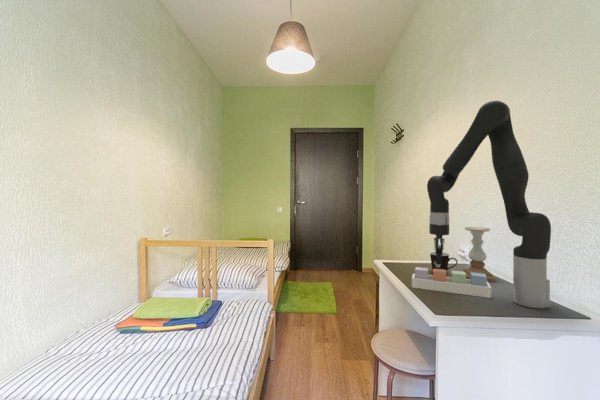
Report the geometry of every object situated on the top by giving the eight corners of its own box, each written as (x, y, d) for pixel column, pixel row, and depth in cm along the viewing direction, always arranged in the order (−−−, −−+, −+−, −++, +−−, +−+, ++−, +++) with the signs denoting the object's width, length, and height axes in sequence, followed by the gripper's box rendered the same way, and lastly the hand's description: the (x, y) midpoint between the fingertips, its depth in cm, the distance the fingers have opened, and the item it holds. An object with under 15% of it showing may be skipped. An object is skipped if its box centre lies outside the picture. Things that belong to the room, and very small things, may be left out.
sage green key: (465, 282, 114) (464, 271, 114) (466, 286, 110) (466, 275, 110) (451, 280, 116) (451, 270, 116) (451, 284, 112) (451, 273, 112)
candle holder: (496, 282, 123) (496, 229, 123) (469, 281, 126) (469, 229, 125) (484, 275, 134) (484, 226, 134) (460, 274, 136) (460, 226, 136)
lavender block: (428, 278, 121) (428, 268, 120) (427, 281, 116) (427, 271, 116) (415, 276, 123) (415, 266, 123) (415, 280, 118) (414, 269, 118)
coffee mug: (426, 272, 140) (426, 253, 140) (437, 270, 144) (437, 251, 144) (446, 278, 130) (446, 257, 130) (458, 276, 133) (458, 255, 133)
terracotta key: (446, 280, 117) (446, 269, 117) (446, 283, 113) (446, 272, 113) (433, 278, 120) (433, 268, 120) (432, 282, 115) (432, 271, 115)
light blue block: (485, 284, 111) (485, 273, 111) (486, 288, 107) (486, 277, 106) (470, 283, 113) (470, 272, 113) (471, 286, 109) (471, 275, 109)
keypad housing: (487, 291, 112) (487, 281, 112) (491, 298, 105) (491, 287, 105) (413, 282, 125) (413, 273, 125) (411, 287, 118) (411, 278, 118)
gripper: (429, 221, 123) (429, 259, 123) (429, 224, 111) (428, 266, 111) (448, 222, 120) (448, 261, 120) (450, 225, 108) (449, 268, 108)
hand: (438, 263), depth 116 cm, fingers closed
